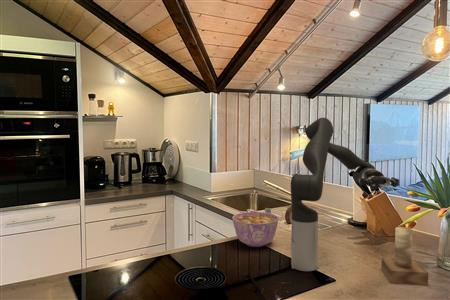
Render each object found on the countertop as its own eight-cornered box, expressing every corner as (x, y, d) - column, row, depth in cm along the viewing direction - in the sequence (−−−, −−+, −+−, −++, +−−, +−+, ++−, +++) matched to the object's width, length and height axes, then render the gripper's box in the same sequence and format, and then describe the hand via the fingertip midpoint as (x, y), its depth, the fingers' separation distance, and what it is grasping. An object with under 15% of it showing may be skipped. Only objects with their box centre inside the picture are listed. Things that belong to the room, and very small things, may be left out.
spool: (398, 267, 114) (398, 230, 113) (392, 261, 119) (393, 226, 118) (414, 267, 113) (415, 231, 113) (407, 262, 118) (408, 227, 118)
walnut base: (390, 282, 112) (391, 270, 111) (381, 268, 122) (381, 257, 122) (428, 285, 110) (428, 272, 109) (415, 270, 120) (415, 259, 120)
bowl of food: (260, 255, 136) (260, 226, 135) (222, 244, 150) (222, 218, 149) (287, 242, 151) (287, 216, 150) (251, 233, 164) (251, 209, 164)
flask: (266, 225, 177) (266, 206, 177) (278, 228, 172) (278, 208, 171) (257, 228, 172) (257, 209, 171) (269, 231, 167) (269, 211, 166)
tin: (298, 218, 191) (298, 203, 191) (303, 219, 189) (303, 203, 189) (284, 224, 180) (284, 208, 179) (289, 225, 178) (289, 209, 177)
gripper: (355, 169, 149) (363, 174, 133) (390, 169, 147) (403, 174, 131) (355, 186, 150) (363, 193, 134) (390, 187, 147) (403, 194, 131)
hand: (383, 184), depth 132 cm, fingers open, 8 cm apart
